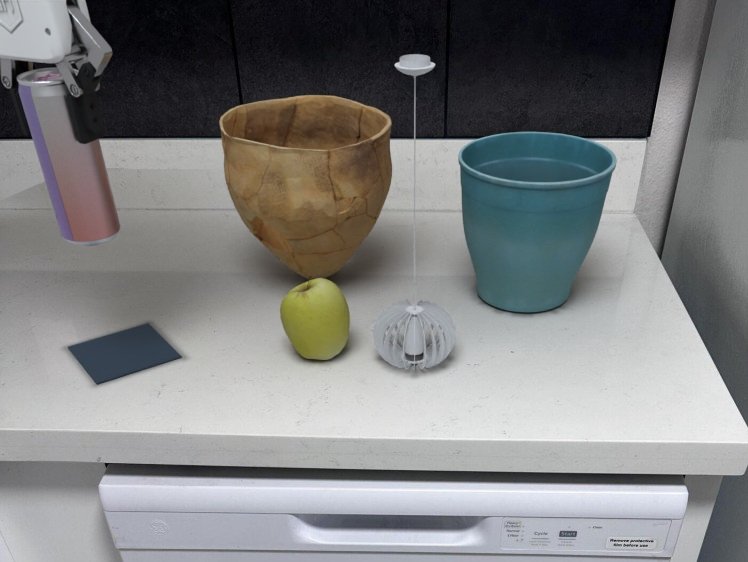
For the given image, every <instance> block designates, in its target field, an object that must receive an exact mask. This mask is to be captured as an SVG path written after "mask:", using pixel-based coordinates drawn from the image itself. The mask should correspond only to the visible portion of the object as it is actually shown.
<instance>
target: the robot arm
mask: <svg viewBox="0 0 748 562" xmlns="http://www.w3.org/2000/svg"><path fill="white" fill-rule="evenodd" d="M87 5H88V4H87V2H86V0H0V80H1V83H2V84H3V86H4V88H6V89H9V92H10V95H11V99H12V102H13V105H14V109H15V112H16V114H17V118H18V121H19V125H20V129H21V132H22V133H23V135H25V136H29V137H30V136H31V137H32V135H31V132H30V129H29V125H28V122H27V119H26V115H25V112H24V109H23V105H22V102H21V99H20V95H19V92H18V90H19V82H18V81H17V76H18V75H20V74H22V73H24V72H27V71H31V70H34V63H42V64H44V63H45V64H55V66H56V68H58V70H59V72H60V74H61V76H62V78H63V80H64V82H65V83H66V85H67V87H68V89H69V91H70V93H71V94H72V95H71V96H68V97H66V98H67V104H68V107H69V111H70V115H71V119H72V122H73V126H74V130H75V134H76V137H77V140H78V142H79V143H81V144H87V143H90V142H92V141H94V140H97V139H99V140H100V139H102V138H104V137H105V136H106V130H105V126H104V122H103V118H102V114H101V110H100V105H99V101H98V97H97V93H96V92H97V91H99V90H100V88H101V84H100V82H101V80H102V78H103V76H104V74H105V68H107V65H108V64H109V62H110V59H111V58H112V56H113V50H112V47H111V45H110V44H109V43H108V41H106V39H105V38H104V37H103V35H102V34H100V33H99V31H98V30H97V29H96V28H95V26H94V25H93V24H92V22H91V17H90V14H89V9H88V6H87ZM72 64H75V66H76V68H77V70H78V71H79V72H78V74H77V76H76V74H75V72H74V70H73V69H74V67H73V65H72Z"/></svg>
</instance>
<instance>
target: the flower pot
mask: <svg viewBox="0 0 748 562" xmlns="http://www.w3.org/2000/svg"><path fill="white" fill-rule="evenodd" d="M457 156H458V161H457V162H458V164H459V171H460V172H459V173H460V174H459V176H460V188H461V189H460V190H461V213H462V214H461V216H462V226H463V234H464V238H465V243H466V246H467V250H468V252H469V256H470V260H471V263H472V266H473V270H474V275H475V279H476V282H475V283H476V284H475V289H476V293H477V295H478V296H479V298H480V299H481V300H483V301H484V302H485V303H487V304H489V305H490V306H492V307H495V308H496V309H497V308H498V309H501V310H504V311H509V312H514V313H515V312H517V313H538V312H539V313H541V312H544V311H549V310H550V311H551V310H553V309H556V308H557V307H559V306H561V305H563V304H564V303H565V302H566V301H567V300H568V298H569V297H570V294H571V288H572V285H573V282H574V280H575V279H576V277H577V274H578V272H579V270H580V268H581V266H582V264H583V263H584V261H585V259H586V257H587V255H588V254H589V252H590V249H591V247H592V245H593V242H594V240H595V238H596V235H597V233H598V229H599V225H600V222H601V219H602V215H603V210H604V207H605V203H606V197H607V195H608V192H609V189H610V185H611V181H612V176H613V173H614V171H615V169H616V167H617V162H618V161H617V160H618V159H617V156H616V154H615V153H614V152H613V150H611V149H610V148H608V146H606V145H604V144H602V143H600V142H597V141H594V140H592V139H587V138H585V137H581V136H576V135H570V134H565V133H559V132H558V133H557V132H547V131H545V132H544V131H516V132H515V131H514V132H505V133H497V134H491V135H489V136H484V137H480V138H477V139H474V140H472V141H470V142H468V143H466V144H465V145H464V146H463V147H462V148H460V150H459V152H458V155H457Z"/></svg>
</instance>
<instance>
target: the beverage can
mask: <svg viewBox="0 0 748 562" xmlns="http://www.w3.org/2000/svg"><path fill="white" fill-rule="evenodd" d="M73 70H74V72H75V74H76V76H77V74H78V72H79V70H78V69H76V68H73ZM17 81H18V82H19V90H18V92H19V95H20V99H21V102H22V105H23V109H24V112H25V115H26V119H27V122H28V125H29V129H30V132H31V138H32V142H33V145H34V149H35V152H36V156H37V158H38V162H39V165H40V169H41V172H42V175H43V178H44V182H45V185H46V189H47V192H48V195H49V199H50V202H51V206H52V208H53V212H54V216H55V219H56V222H57V225H58V228H59V232H60V235H61V236H62V238H63V239H64V240H65V242H68V243H69V244H71V245H74V246H79V247H92V246H99V245H104V244H106V243H109V242H111V241H113V240H115V239H116V238H117V237H118V235H119V234H120V230H121V222H120V219H119V215H118V210H117V207H116V203H115V199H114V194H113V191H112V186H111V183H110V179H109V174H108V170H107V166H106V161H105V158H104V153H103V151H102V146H101V142H100V138H99V139H97V140H94V141H92V142H90V143H87V144H81V143H79V142H78V140H77V137H76V134H75V130H74V126H73V122H72V119H71V115H70V111H69V107H68V104H67V98H66V97H68V96H71V95H72V94H71V93H70V91H69V89H68V87H67V85H66V83H65V82H64V80H63V78H62V76H61V74H60V72H59V70H58V68H57V67H44V68H37V69H33V70H31V71H27V72H24V73H22V74H20V75H18V76H17Z"/></svg>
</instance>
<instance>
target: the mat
mask: <svg viewBox="0 0 748 562" xmlns="http://www.w3.org/2000/svg"><path fill="white" fill-rule="evenodd" d="M67 350H69V351H70V353H71V354H72V355H73V357H74V358H75V359H76V360H77V361H78V363H79V364H80V366H81V367H82V368H83V369H84V370H85V372H86V373H87V374H88V375H89V377H90V378H91V379H92V380H93V382H94V383H95V384H96V385H101V384H104V383H107V382H110V381H114V380H115V379H119V378H122V377H125V376H128V375H132V374H134V373H135V374H136V373H138V372H141V371H144V370H148V369H150V368H154V367H157V366H160V365H163V364H166V363H169V362H172V361H175V360H179V359H181V358H182V357H183V356H182V354H180V353H179V352H178V351H177V350H176V348H174V347H173V346H172V345H171V344H170V343H169V342H168V341H167V340H166V339H165V337H163V336H162V335H161V334H160V333H159V332H158V330H156V329H155V328H154V327H153V325H151V324H150V323H149V322H147V323H143V324H140V325H136V326H133V327H130V328H127V329H123V330H119V331H116V332H113V333H109V334H105V335H102V336H99V337H96V338H92V339H89V340H85V341H83V342H79V343H75V344H72V345H68V346H67Z"/></svg>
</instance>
